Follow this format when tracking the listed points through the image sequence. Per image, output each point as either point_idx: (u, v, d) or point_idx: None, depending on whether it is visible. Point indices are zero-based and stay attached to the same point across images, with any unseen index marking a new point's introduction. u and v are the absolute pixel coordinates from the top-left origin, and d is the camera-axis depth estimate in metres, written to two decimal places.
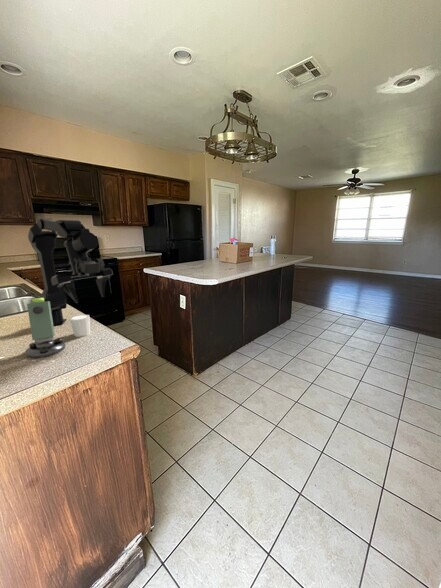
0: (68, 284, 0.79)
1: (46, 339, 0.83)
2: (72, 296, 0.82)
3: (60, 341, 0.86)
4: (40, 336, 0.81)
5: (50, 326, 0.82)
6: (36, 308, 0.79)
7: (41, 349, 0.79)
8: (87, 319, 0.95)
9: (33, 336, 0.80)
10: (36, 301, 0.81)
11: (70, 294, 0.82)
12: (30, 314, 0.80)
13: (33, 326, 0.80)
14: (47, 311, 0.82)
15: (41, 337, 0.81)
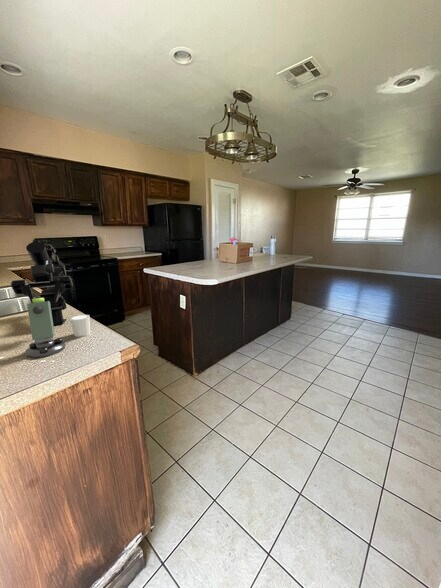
0: (24, 286, 0.90)
1: (46, 339, 0.83)
2: None
3: (60, 341, 0.86)
4: (40, 336, 0.81)
5: (50, 326, 0.82)
6: (36, 308, 0.79)
7: (41, 349, 0.79)
8: (87, 319, 0.95)
9: (33, 336, 0.80)
10: (36, 301, 0.81)
11: None
12: (30, 314, 0.80)
13: (33, 326, 0.80)
14: (47, 311, 0.82)
15: (41, 337, 0.81)
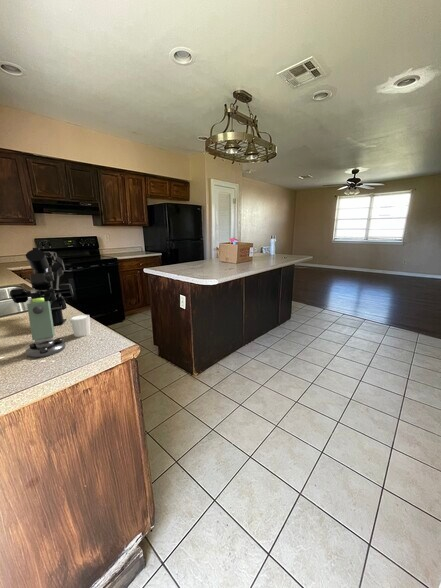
0: (34, 294, 0.89)
1: (46, 339, 0.83)
2: None
3: (60, 341, 0.86)
4: (40, 336, 0.81)
5: (50, 326, 0.82)
6: (36, 308, 0.79)
7: (41, 349, 0.79)
8: (87, 319, 0.95)
9: (33, 336, 0.80)
10: (36, 301, 0.81)
11: None
12: (30, 314, 0.80)
13: (33, 326, 0.80)
14: (47, 311, 0.82)
15: (41, 337, 0.81)
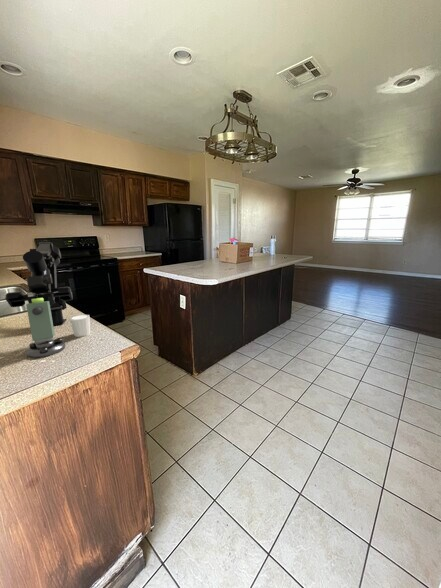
0: (31, 298, 0.84)
1: (46, 339, 0.83)
2: None
3: (60, 341, 0.86)
4: (40, 337, 0.81)
5: (50, 327, 0.82)
6: (36, 309, 0.78)
7: (41, 349, 0.79)
8: (87, 319, 0.95)
9: (33, 337, 0.80)
10: (35, 301, 0.80)
11: None
12: (29, 315, 0.79)
13: (33, 327, 0.80)
14: (47, 312, 0.81)
15: (41, 338, 0.81)
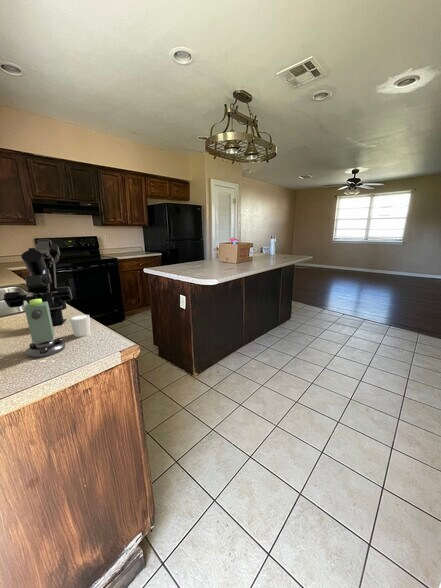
0: (30, 298, 0.83)
1: (46, 340, 0.83)
2: None
3: (60, 341, 0.86)
4: (40, 339, 0.81)
5: (50, 329, 0.81)
6: (35, 314, 0.76)
7: (41, 349, 0.79)
8: (87, 319, 0.95)
9: (33, 338, 0.80)
10: (34, 304, 0.78)
11: None
12: (28, 318, 0.78)
13: (33, 329, 0.79)
14: (46, 314, 0.80)
15: (41, 339, 0.81)
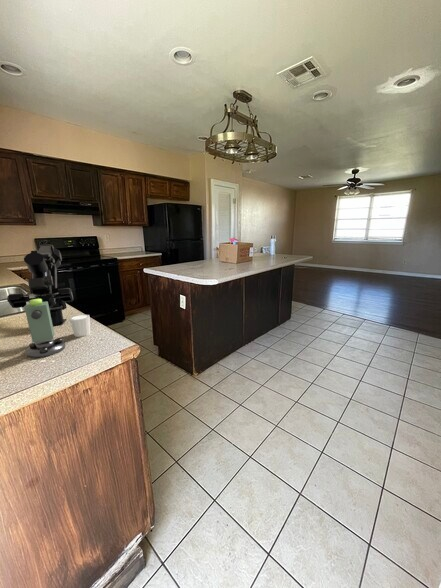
0: (32, 299, 0.86)
1: (46, 340, 0.83)
2: None
3: (60, 341, 0.86)
4: (40, 339, 0.81)
5: (50, 329, 0.81)
6: (35, 313, 0.77)
7: (41, 349, 0.79)
8: (87, 319, 0.95)
9: (33, 338, 0.80)
10: (34, 304, 0.78)
11: None
12: (28, 318, 0.78)
13: (33, 329, 0.79)
14: (46, 314, 0.80)
15: (41, 339, 0.81)
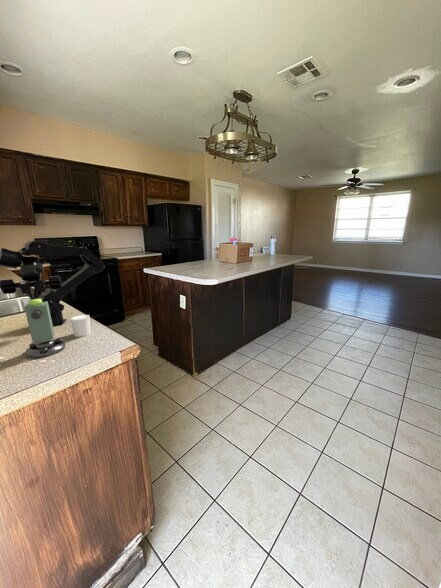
0: (24, 285, 0.91)
1: (46, 340, 0.83)
2: (29, 297, 0.92)
3: (60, 341, 0.86)
4: (40, 339, 0.81)
5: (50, 329, 0.81)
6: (35, 313, 0.77)
7: (41, 349, 0.79)
8: (87, 319, 0.95)
9: (33, 338, 0.80)
10: (34, 304, 0.78)
11: (29, 296, 0.93)
12: (28, 318, 0.78)
13: (33, 329, 0.79)
14: (46, 314, 0.80)
15: (41, 339, 0.81)
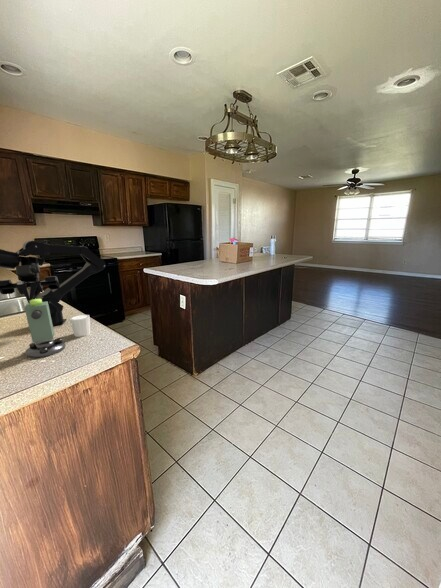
0: (20, 286, 0.91)
1: (46, 340, 0.83)
2: (26, 298, 0.92)
3: (60, 341, 0.86)
4: (40, 339, 0.81)
5: (50, 329, 0.81)
6: (35, 313, 0.77)
7: (41, 349, 0.79)
8: (87, 319, 0.95)
9: (33, 338, 0.80)
10: (34, 304, 0.78)
11: None
12: (28, 318, 0.78)
13: (33, 329, 0.79)
14: (46, 314, 0.80)
15: (41, 339, 0.81)
